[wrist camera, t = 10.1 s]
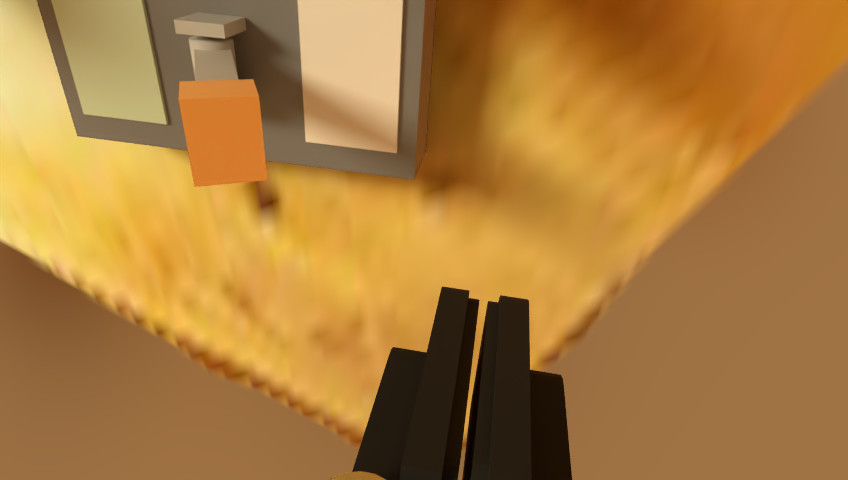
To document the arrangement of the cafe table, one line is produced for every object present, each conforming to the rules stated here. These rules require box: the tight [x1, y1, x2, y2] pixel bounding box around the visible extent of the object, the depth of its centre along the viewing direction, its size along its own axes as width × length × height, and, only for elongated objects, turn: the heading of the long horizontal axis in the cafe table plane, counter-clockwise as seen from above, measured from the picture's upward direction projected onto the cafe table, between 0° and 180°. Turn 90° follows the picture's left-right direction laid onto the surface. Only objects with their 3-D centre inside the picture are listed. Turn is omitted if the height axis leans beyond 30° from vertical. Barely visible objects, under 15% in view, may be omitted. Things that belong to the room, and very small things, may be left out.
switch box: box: [37, 0, 436, 180], centre depth 27 cm, size 11×20×6 cm, turn 85°
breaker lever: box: [178, 36, 267, 187], centre depth 22 cm, size 3×2×12 cm
